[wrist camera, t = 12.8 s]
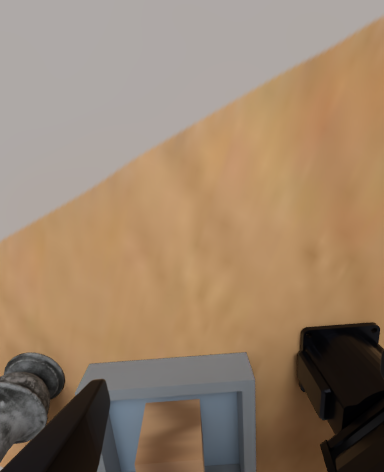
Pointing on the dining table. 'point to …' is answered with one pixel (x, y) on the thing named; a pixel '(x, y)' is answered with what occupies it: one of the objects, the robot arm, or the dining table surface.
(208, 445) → the low wall corral
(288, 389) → the dining table surface
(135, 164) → the dining table surface
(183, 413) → the light brown block
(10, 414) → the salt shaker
